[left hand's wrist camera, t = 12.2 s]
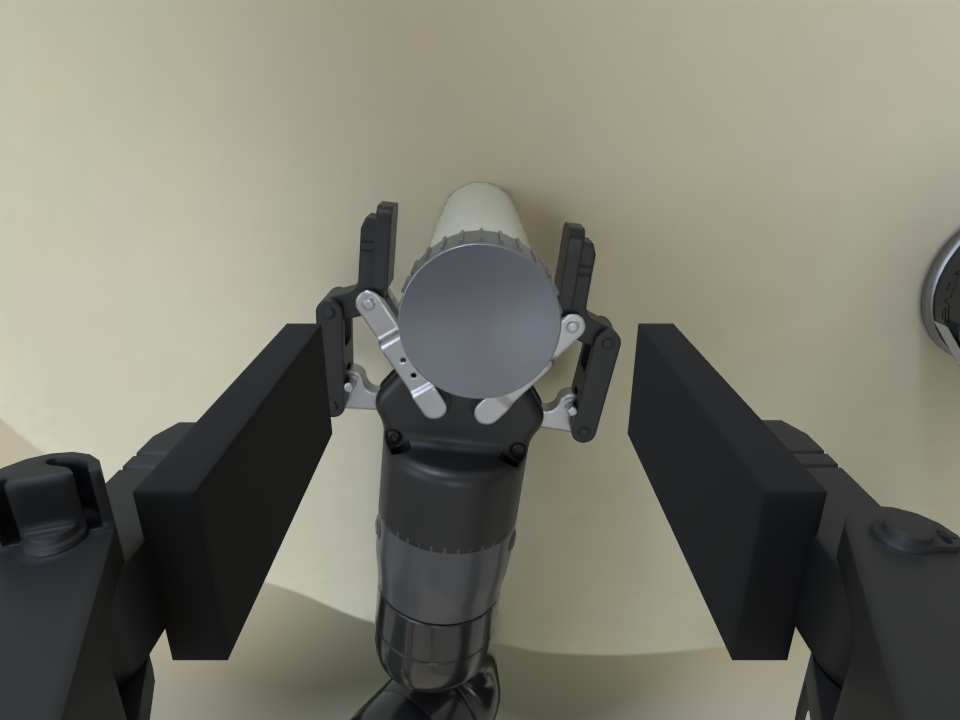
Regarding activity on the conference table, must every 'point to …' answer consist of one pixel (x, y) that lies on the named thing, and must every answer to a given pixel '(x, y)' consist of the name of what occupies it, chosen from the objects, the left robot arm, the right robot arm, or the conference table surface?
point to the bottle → (480, 213)
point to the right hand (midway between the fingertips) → (482, 214)
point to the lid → (479, 315)
